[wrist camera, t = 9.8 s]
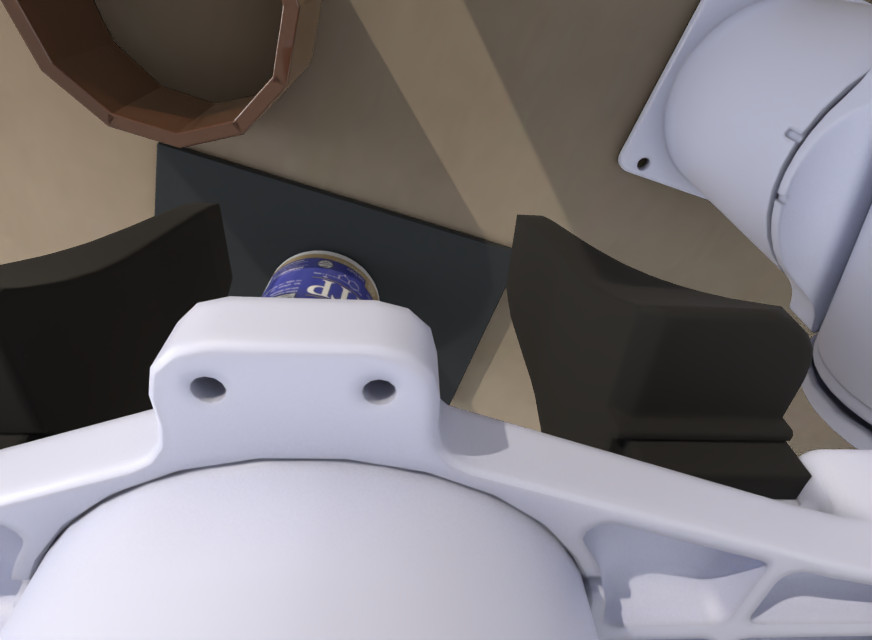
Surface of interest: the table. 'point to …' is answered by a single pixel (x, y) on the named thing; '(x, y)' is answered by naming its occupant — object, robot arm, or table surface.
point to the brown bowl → (134, 88)
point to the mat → (346, 247)
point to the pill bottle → (321, 278)
